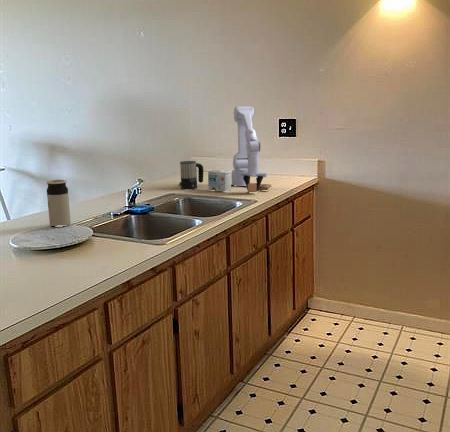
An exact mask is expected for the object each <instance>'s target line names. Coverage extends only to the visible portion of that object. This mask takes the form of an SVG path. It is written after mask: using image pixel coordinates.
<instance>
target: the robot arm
mask: <svg viewBox="0 0 450 432" xmlns="http://www.w3.org/2000/svg"><path fill="white" fill-rule="evenodd" d="M233 110H234V111H233V120H234V122H235V123H237V124H236V125H237V149H238V150H237V151H238V152H236V153H235V154H234V155H233V159H232V160H233V161H232V167H233V169H232V171H231V185H238V186H237V187H239V186H247V187H246V191H248V184H249V183H251V177H253V178H255V177H256V178H255V179H256V181H255V182H256V183H257V191H259V188H260V184H262V181H263V179H264V178H267V177H268V173H267V172H259V171H260V168H259V167H260V166H259V165H260V163H259V161H260V159H259V158H260V152H261V141H260V140H259V139H258V137H257V133H256V130H255V129H254V128H253V121H252V120H253V119H254V114H255V109H254V107H253V106H252V105H250V106H249V105H248V106H247V105H246V106H235V107H234V109H233ZM259 192H260V191H259Z"/></svg>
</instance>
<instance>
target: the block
mask: <svg viewBox="0 0 450 432" xmlns="http://www.w3.org/2000/svg"><path fill="white" fill-rule="evenodd" d="M248 192H257V182H250V183H249V184H248V190H247V193H248Z"/></svg>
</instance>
